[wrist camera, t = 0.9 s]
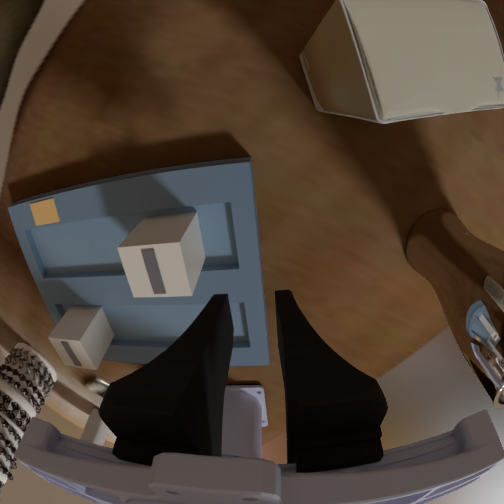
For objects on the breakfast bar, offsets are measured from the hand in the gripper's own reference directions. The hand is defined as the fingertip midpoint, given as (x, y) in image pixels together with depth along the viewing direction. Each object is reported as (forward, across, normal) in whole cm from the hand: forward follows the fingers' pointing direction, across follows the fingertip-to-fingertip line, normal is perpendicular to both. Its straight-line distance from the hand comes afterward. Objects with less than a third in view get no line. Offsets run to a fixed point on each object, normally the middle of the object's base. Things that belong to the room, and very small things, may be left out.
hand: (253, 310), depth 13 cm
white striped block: (+9, +6, 0) cm, 11 cm away
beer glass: (+10, -15, +2) cm, 18 cm away
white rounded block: (+10, +28, +30) cm, 43 cm away
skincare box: (+10, -7, -10) cm, 16 cm away
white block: (+9, +17, +8) cm, 21 cm away
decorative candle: (+10, +35, +18) cm, 41 cm away
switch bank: (+10, +11, +4) cm, 15 cm away
